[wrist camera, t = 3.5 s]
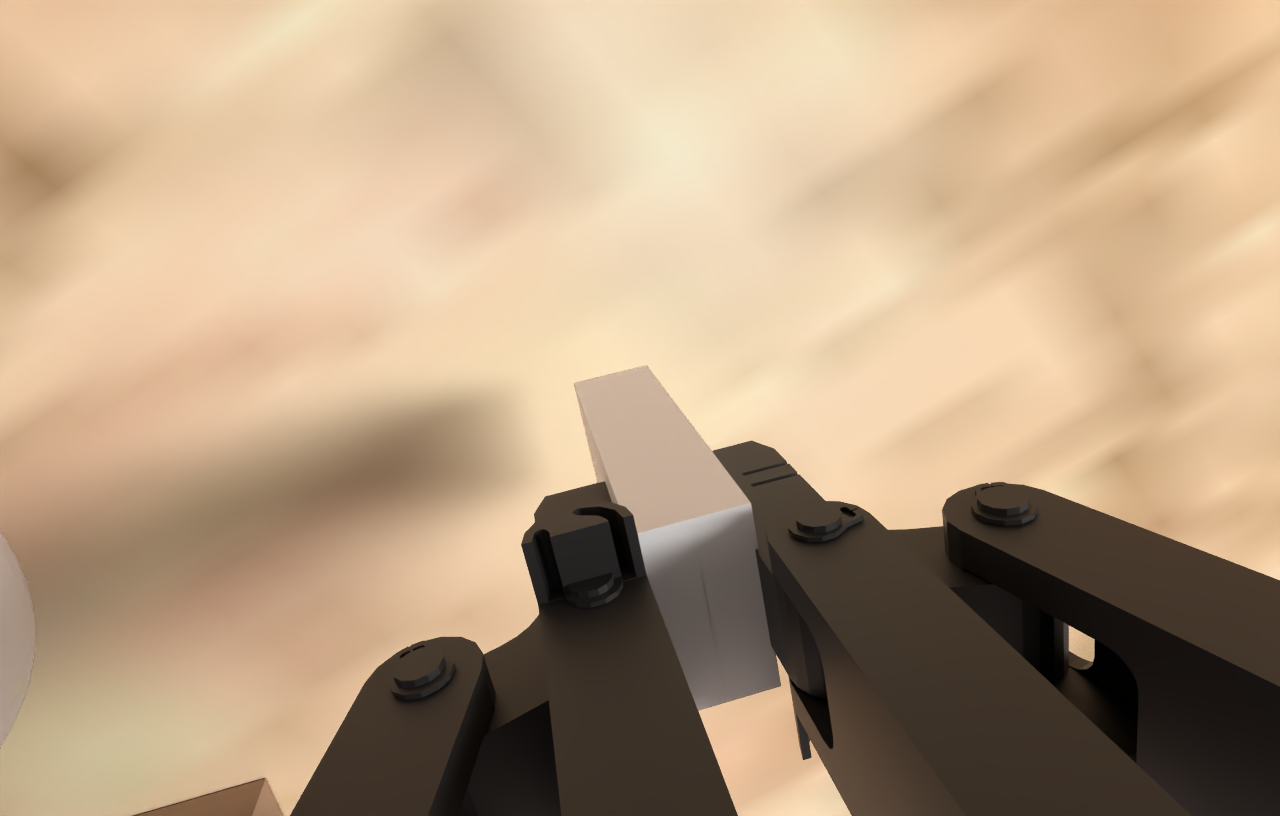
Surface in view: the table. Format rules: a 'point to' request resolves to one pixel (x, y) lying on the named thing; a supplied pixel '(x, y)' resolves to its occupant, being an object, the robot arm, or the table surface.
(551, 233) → the table surface
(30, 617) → the teacup
